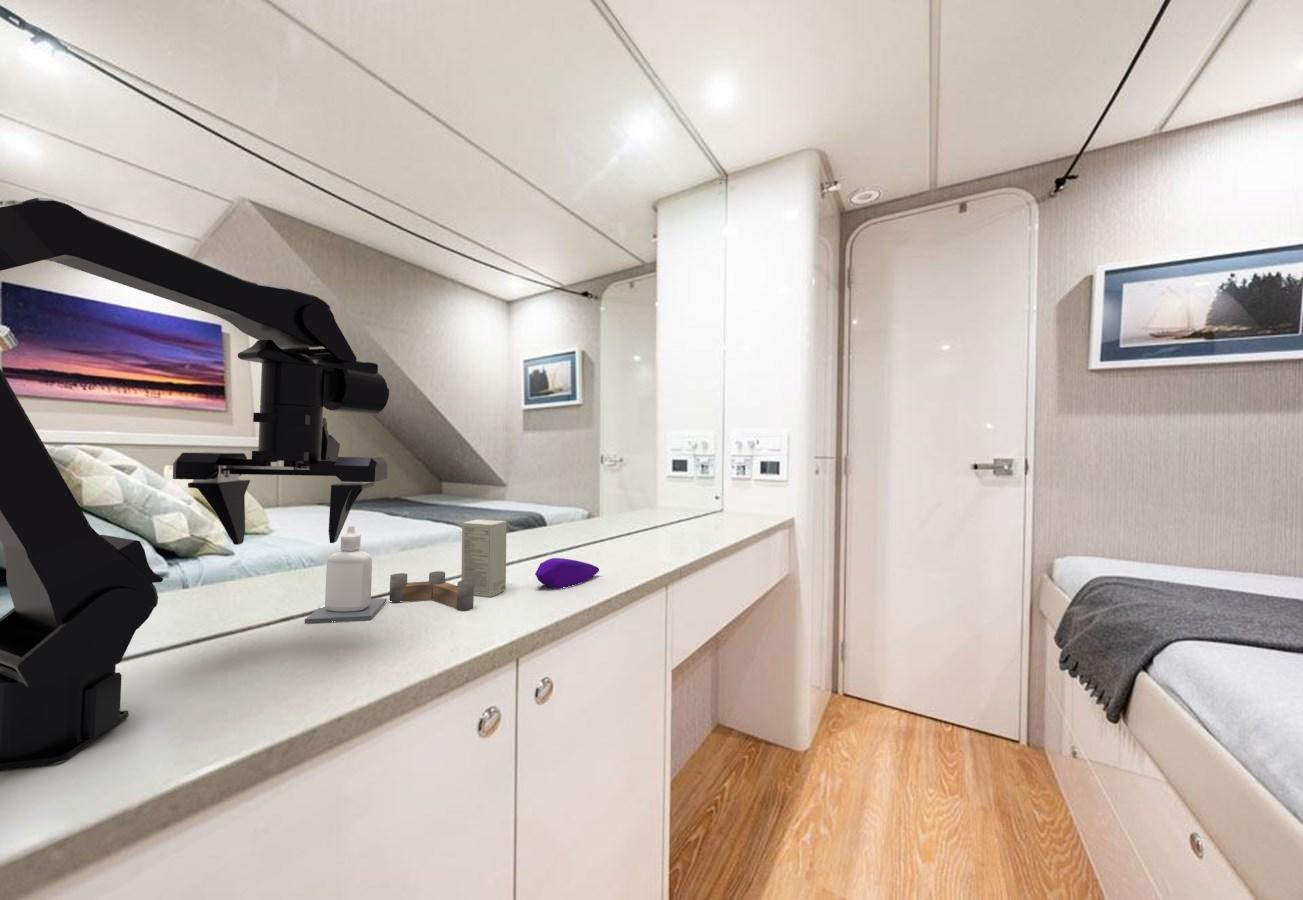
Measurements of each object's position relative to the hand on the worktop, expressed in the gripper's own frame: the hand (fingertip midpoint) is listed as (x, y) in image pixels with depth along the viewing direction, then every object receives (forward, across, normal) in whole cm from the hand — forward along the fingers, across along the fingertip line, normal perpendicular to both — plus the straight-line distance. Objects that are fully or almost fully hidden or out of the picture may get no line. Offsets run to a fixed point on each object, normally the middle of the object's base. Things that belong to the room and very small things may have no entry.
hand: (287, 543), depth 53 cm
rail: (+13, -13, -17) cm, 25 cm away
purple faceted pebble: (+14, -35, -26) cm, 45 cm away
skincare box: (+13, -20, -22) cm, 33 cm away
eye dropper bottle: (+13, -2, -15) cm, 20 cm away
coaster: (+13, -2, -15) cm, 20 cm away
